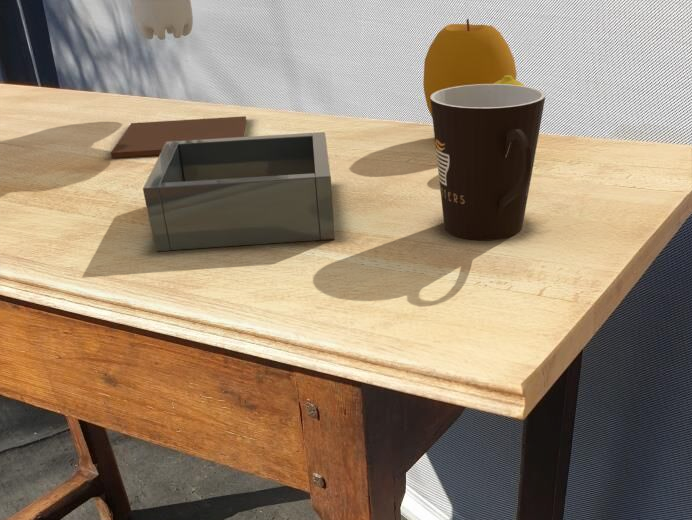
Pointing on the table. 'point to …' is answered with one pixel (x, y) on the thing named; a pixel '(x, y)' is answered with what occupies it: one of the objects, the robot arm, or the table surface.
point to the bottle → (162, 17)
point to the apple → (466, 58)
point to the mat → (174, 134)
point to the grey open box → (240, 192)
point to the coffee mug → (485, 156)
